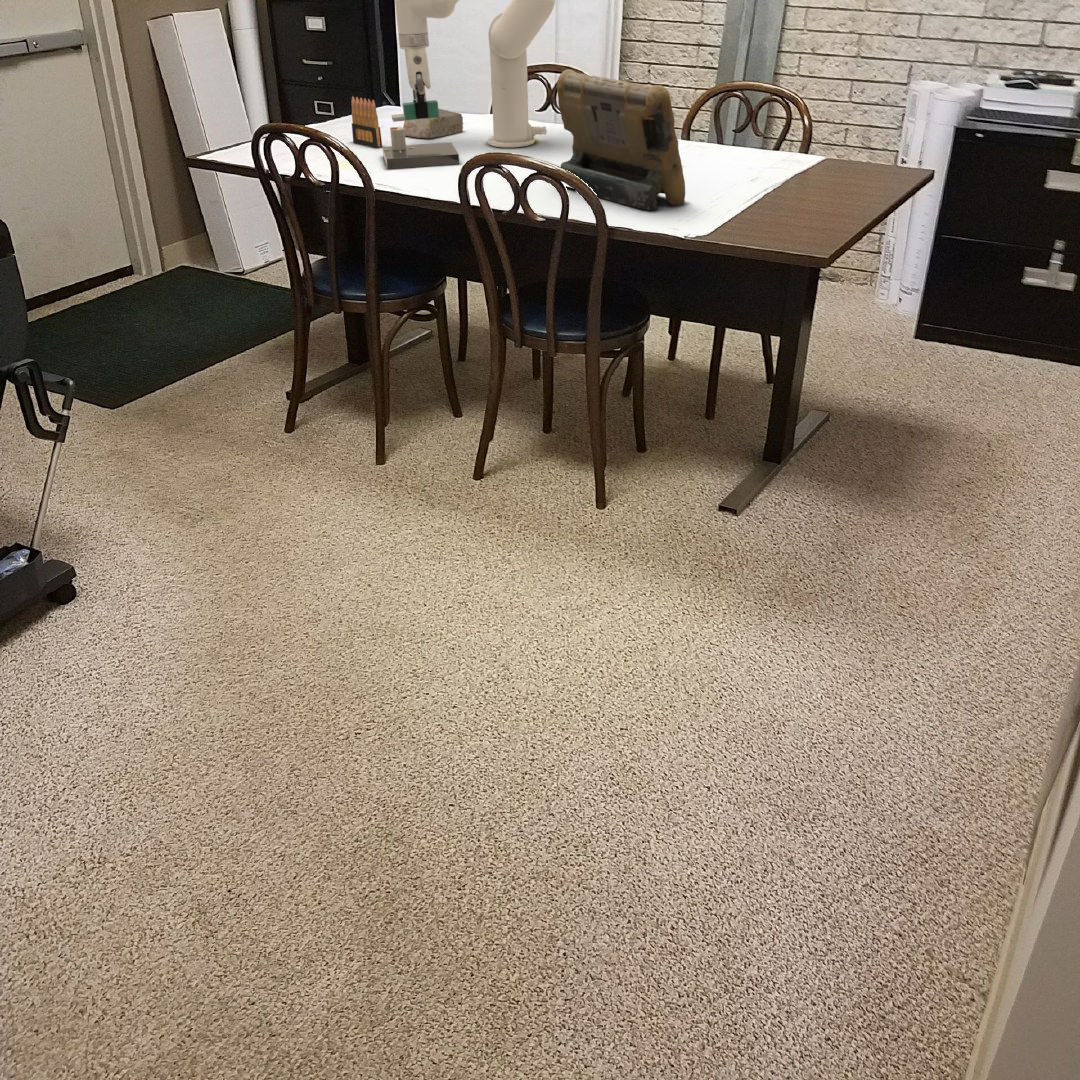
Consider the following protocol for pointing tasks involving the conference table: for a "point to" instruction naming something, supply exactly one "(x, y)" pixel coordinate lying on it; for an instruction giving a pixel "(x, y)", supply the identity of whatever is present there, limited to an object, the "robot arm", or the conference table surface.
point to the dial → (398, 138)
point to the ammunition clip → (365, 123)
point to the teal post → (411, 114)
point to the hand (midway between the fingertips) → (421, 116)
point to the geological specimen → (435, 125)
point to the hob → (421, 156)
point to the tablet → (622, 139)
